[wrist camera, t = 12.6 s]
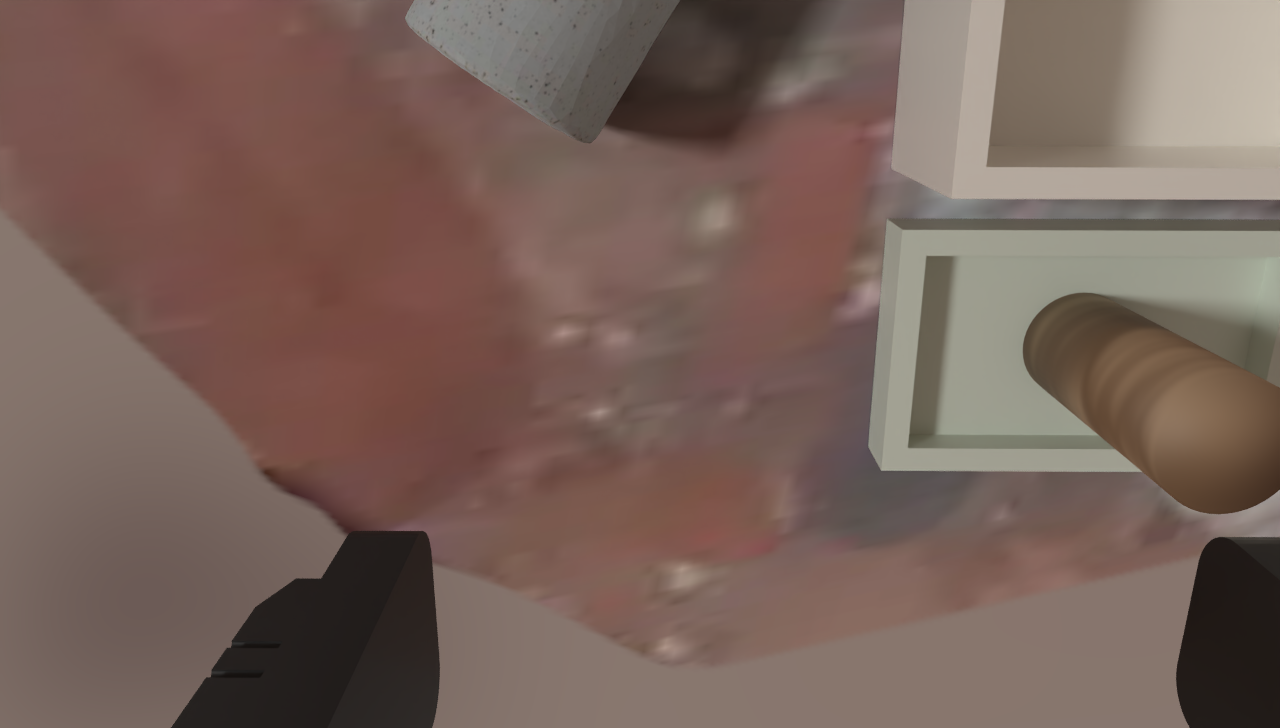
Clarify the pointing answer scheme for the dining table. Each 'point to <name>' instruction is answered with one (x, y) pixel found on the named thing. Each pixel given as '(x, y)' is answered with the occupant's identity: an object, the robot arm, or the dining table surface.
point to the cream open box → (1090, 99)
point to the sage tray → (1011, 298)
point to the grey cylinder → (547, 51)
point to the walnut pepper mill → (1160, 401)
